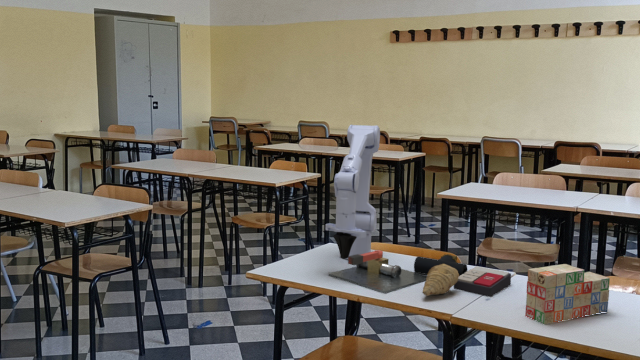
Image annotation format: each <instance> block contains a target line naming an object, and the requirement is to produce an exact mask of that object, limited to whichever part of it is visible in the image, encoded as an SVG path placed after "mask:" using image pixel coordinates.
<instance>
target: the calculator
mask: <svg viewBox="0 0 640 360" xmlns="http://www.w3.org/2000/svg"><path fill="white" fill-rule="evenodd" d="M511 283H512V273H511V272H508V271H504V270H499V269H495V268H494V269H493V268H488V267H483V266H478V265H477V266H474V267H473V268H471V269H468V270H467V272H465V273H464V274H462V275H460V276H459V277H458V281H457V283H455V284H454V285H453V290H456V291H457V290H458V291H462V292H466V293H470V294H471V293H472V294H475V295H480V296H485V297H487V298H488V297H490V298H491V297H493V296H495V295H496V294H498V293H500V292H501V291H502V290H504V289H505V288H508V287H510V285H512V284H511Z"/></svg>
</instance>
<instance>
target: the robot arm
mask: <svg viewBox="0 0 640 360" xmlns="http://www.w3.org/2000/svg"><path fill="white" fill-rule="evenodd" d="M346 135H347V136H346V139H347V142H348V145H349V152H348V154H347V155H345V156H344V157H343V161H342V164H341V167H340V170H339V172H338V173H335V175H334V180H333V182H334V183H333V187H334V197H336V198H335V199H336V201H335V203H336V204H335V208H336V209H335V223H330V222H329V223H326V224H325V231H327V232H328V231H330V232H335V234H333V239H334V241H335V243H336V245H337V248H338V252H339V258H340V259H345V260H348V256H352V255H356V254H359V255H360V254H364V253H369V252H372V249H371V248H372V233H374V232H375V231H376V229H377V220H378V219H377V210H376V208H375V207H374V206H373V205H372V204H370V201H369V200H370V191H371V190H370V188H371V175H372V174H371V173H372V165H373V164H372V162H373V157H374V154H375V153H377V152H379V148H380V139H381V129H380V127H379V125H377V124H376V125H361V124H350V125H349V126H348V128H347V133H346Z"/></svg>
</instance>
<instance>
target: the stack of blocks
mask: <svg viewBox="0 0 640 360" xmlns="http://www.w3.org/2000/svg"><path fill="white" fill-rule="evenodd" d="M610 279H611V278H610V277H607V276H604V275H602V274H599V273H596V272H595V273H594V272H591V271H586V272H585V269H583V268H579V267H575V266H573V265H570V264H567V263H563V264H555V265H548V266H542V267H534V268H528V270H527V282H526V302H525V317H526V316H527V318H528V317H530V318H532V319H531V320H533V319H534V320H533V321H535V320H537V321H538V322H537V321H536V322H537V323H539V322H541V323H543V324H544V325H549V324H548V323H550V324H553V323H552V322H557V323H559V322H558V321H562V320H568V319H572V318H577V317H582V316H585V315H592V314H596V313H601V312H607V313H608V309H609V300H610V299H609V298H610V290H609V289H610ZM530 318H529V319H530ZM582 318H583V317H582ZM577 319H578V318H577ZM572 320H573V319H572ZM568 321H569V320H568ZM562 322H563V321H562ZM541 323H540V324H541ZM543 324H542V325H543Z"/></svg>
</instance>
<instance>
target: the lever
mask: <svg viewBox="0 0 640 360" xmlns="http://www.w3.org/2000/svg"><path fill="white" fill-rule="evenodd" d="M383 252H384V251H383V250H381V249H380V250H379V249H376V250H374V251H373V250H372V251H371V252H369V253H364V254H360V255H359V254H356V255H352V256H348V259H347V265H351V266H356V265H357V264H361V263H363V262H365V261H369V260H373V259H377V258H384V257H383V255H384V253H383Z"/></svg>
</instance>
